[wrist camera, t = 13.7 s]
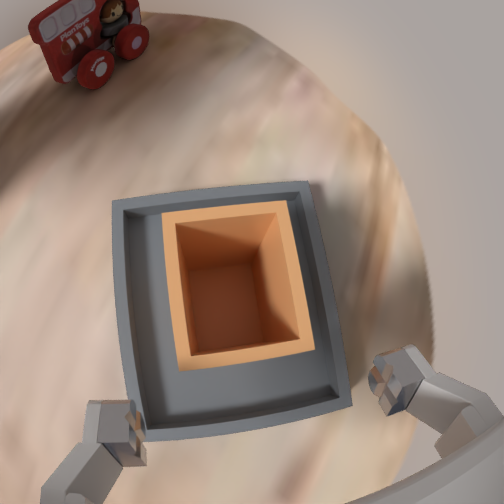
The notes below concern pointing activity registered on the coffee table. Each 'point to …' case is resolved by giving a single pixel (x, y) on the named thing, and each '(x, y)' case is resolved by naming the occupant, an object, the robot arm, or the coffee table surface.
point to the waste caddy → (234, 285)
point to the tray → (231, 376)
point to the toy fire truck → (88, 38)
